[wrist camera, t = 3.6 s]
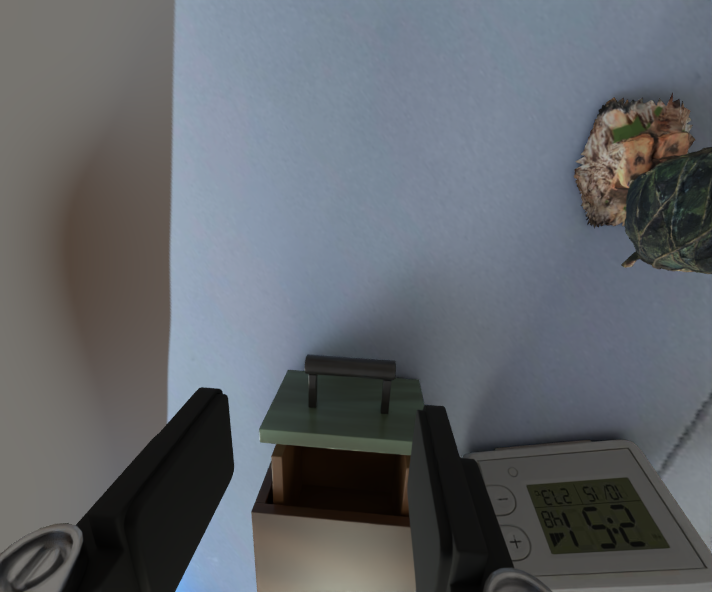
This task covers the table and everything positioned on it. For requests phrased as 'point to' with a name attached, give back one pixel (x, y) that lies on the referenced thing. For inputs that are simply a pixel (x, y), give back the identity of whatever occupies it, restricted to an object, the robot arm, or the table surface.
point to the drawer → (343, 436)
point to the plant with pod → (650, 183)
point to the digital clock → (593, 518)
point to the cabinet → (329, 548)
